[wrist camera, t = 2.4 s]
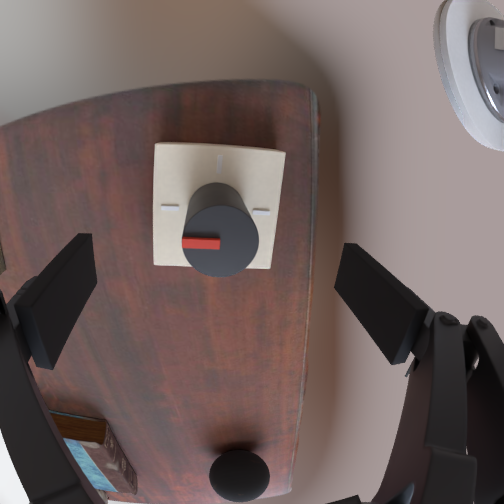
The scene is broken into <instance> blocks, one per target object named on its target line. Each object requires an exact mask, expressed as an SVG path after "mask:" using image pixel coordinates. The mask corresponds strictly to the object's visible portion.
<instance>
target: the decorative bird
mask: <svg viewBox="0 0 504 504" xmlns="http://www.w3.org/2000/svg"><path fill="white" fill-rule="evenodd" d="M96 491H97V492H98V494H99V495H100V496H101V498H102V499H103V500H104V502H105V503H106V504H108V499H109V497H108V498H107V494H106V493H105V491H104V490H100V489H96Z"/></svg>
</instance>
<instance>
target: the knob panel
mask: <svg viewBox="0 0 504 504" xmlns="http://www.w3.org/2000/svg"><path fill="white" fill-rule="evenodd" d="M285 154H286V153H285V152H283V151H280V150H277V149H268V148H259V147H248V146H237V145H223V144H207V143H186V142H159V143H156V144H155V156H154V181H153V255H154V265H170V266H191V265H190V264H189V262H188V261H187V259H186V257H185V255H184V253H183V249H182V234H183V229H184V224H185V219H186V214H187V209H188V204H189V201H190V198H191V197H192V195H193V194H194V192H195V191H196V190H197V189H199V188H200V187H202V186H203V185H206V184H209V183H214V182H219V183H224V184H227V185H229V186H231V187H233V188H234V189H235V190H236V191H237V192H238V193H239V194H240V196H241V198H242V200H243V202H244V204H245V205H246V207H247V209H248V211H249V213H250V215H251V217H252V219H253V221H254V223H255V225H256V227H257V230H258V234H259V246H258V250H257V253H256V255H255V257H254V259H253V260H252V262H251V263H250V264H249V265H248V266H247V267H246V268H262V269H270V266H271V259H272V252H273V245H274V238H275V231H276V223H277V216H278V209H279V201H280V194H281V186H282V178H283V170H284V162H285Z"/></svg>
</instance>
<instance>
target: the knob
mask: <svg viewBox="0 0 504 504" xmlns="http://www.w3.org/2000/svg"><path fill="white" fill-rule="evenodd" d="M258 246H259V234H258V230H257V227H256V225H255V223H254V221H253V219H252V217H251V215H250V213H249V211H248V209H247V207H246V205H245V204H244V202H243V200H242V198H241V196H240V194H239V193H238V192H237V191H236V190H235V189H234V188H233V187H231V186H229V185H227V184H224V183H219V182H214V183H209V184H206V185H203V186H202V187H200V188H199V189H197V190H196V191H195V192H194V194H193V195H192V197H191V198H190V201H189V204H188V209H187V214H186V219H185V224H184V229H183V234H182V249H183V253H184V255H185V257H186V259H187V261H188V262H189V264H190V265H191V266H192V267H193V268H195V269H196V270H197V271H199V272H200V273H203V274H205V275H208V276H212V277H227V276H231V275H234V274H237V273H239V272H241V271H242V270H244V269H245V268H246V267H247V266H248V265H249V264H250V263H251V262H252V260H253V259H254V257H255V255H256V253H257V250H258Z"/></svg>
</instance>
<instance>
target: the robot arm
mask: <svg viewBox="0 0 504 504" xmlns="http://www.w3.org/2000/svg"><path fill="white" fill-rule="evenodd" d="M468 54H469V61H470V65H471V70H472V74H473V77H474V80H475V83H476V86H477V88H478V91H479V93H480V95H481V97H482V99H483V101H484V103H485V105H486V107H487V108H488V110H489V111H490V112H491V114H492V115H493V116H494V117H495V118H496V119H497V120H498V121H500V122H501V123H504V20H501V19H497V18H492V17H488V18H482V19H477V20H475V21H474V22H473V23H472V25H471V27H470V29H469V33H468ZM96 284H97V276H96V269H95V261H94V252H93V242H92V234H87V233H78V234H77V235H76V236H75V237H74V238H73V239H72V240H71V241H70V242H69V243H68V244H67V245H66V246H65V247H64V248H63V249H62V250H61V251H60V253H59V254H58V255H57V256H56V257H55V258H54V259H53V260H52V261H51V262H50V263H49V264H48V265H47V266H46V267H45V269H44V270H43V271H42V272H41V273H40V274H39V275H38V276H34V277H33V278H31V279H30V280H28V281H26V282H25V284H24V285H23V286H22V287H21V289H19V290H18V291H17V293H16V295H14V296H13V297H12V298H11V300H10V301H9V302H8V303H7V304H6V303H5V300H4V297H3V293H2V291H1V290H0V429H1V433H2V436H3V439H4V442H5V444H6V447H7V450H8V452H9V455H10V458H11V460H12V463H13V465H14V467H15V470H16V472H17V474H18V477H19V479H20V481H21V483H22V485H23V488H24V490H25V492H26V494H27V496H28V498H29V501H30V503H29V504H106V503H105V502H104V500H103V499H102V498H101V496H100V495H99V494H98V492H97V491H96V489H95V488H94V487H93V485H92V484H91V482H90V481H89V480H88V478H87V477H86V475H85V474H84V472H83V471H82V469H81V467H80V466H79V464H78V463H77V461H76V460H75V458H74V456H73V455H72V453H71V451H70V450H69V448H68V446H67V444H66V443H65V441H64V439H63V437H62V436H61V434H60V432H59V430H58V428H57V426H56V424H55V422H54V420H53V418H52V416H51V414H50V412H49V410H48V408H47V406H46V404H45V402H44V400H43V397H42V395H41V393H40V390H39V388H38V386H37V383H36V381H35V379H34V376H33V373H32V371H31V368H30V366H29V364H28V361H29V359H30V357H31V355H32V357H33V360H34V362H35V364H36V367H40V368H45V369H50V370H53V369H54V367H55V364H56V362H57V360H58V358H59V356H60V353H61V351H62V349H63V347H64V345H65V343H66V341H67V339H68V337H69V335H70V333H71V331H72V329H73V327H74V325H75V323H76V321H77V319H78V317H79V315H80V313H81V311H82V310H83V308H84V306H85V304H86V302H87V300H88V298H89V297H90V295H91V293H92V291H93V290H94V288H95V286H96ZM334 288H335V290H336V291H337V292H338V293H339V295H340V296H341V297H342V299H343V300H344V301H345V303H346V304H347V305H348V307H349V308H350V309H351V310H352V312H353V313H354V315H355V316H356V317H357V319H358V320H359V321H360V323H361V324H362V325H363V327H364V328H365V329H366V331H367V332H368V333H369V335H370V336H371V338H372V339H373V340H374V342H375V343H376V344H377V346H378V347H379V348H380V350H381V351H382V353H383V354H384V355H385V357H386V358H387V360H388V361H389V362H390V364H391V365H395V364H400V363H405V361H406V359H407V357H408V355H409V353H410V351H411V352H412V353H413V354H414V356H415V357H414V360H413V361H412V363H411V365H410V367H409V369H408V371H407V373H406V375H405V377H407V376H408V374H410V375H409V381H408V386H407V392H406V397H405V402H404V406H403V411H402V415H401V419H400V423H399V428H398V431H397V435H396V439H395V443H394V446H393V449H392V453H391V456H390V460H389V463H388V466H387V469H386V472H385V475H384V478H383V481H382V483H381V486H380V488H379V491H378V492H377V494H376V495H375V497H374V498H373V499H372V501H371V502H361V501H360V499H359V496H358V495H355V496H352V497H349V498H345V499H342V500H339V501H335V502H331V503H327V504H473V502H474V504H504V344H503V342H502V340H501V339H500V337H499V335H498V333H497V332H496V330H495V328H494V327H493V325H492V324H491V323H490V322H489V321H488V320H487V319H486V318H484V317H482V316H472V318H471V320H470V322H469V324H468V325H462V324H460V322H459V320H458V319H457V318H456V317H454V316H453V315H451V314H449V313H446V312H436V313H435V312H434V311H433V310H432V309H431V308H430V307H429V306H428V305H427V304H426V303H425V302H424V301H423V300H421V299H420V298H419V297H418V296H417V295H416V294H415V293H414V292H413V291H412V290H411V289H409V288H408V287H406V286H405V285H404V284H403V283H401V282H400V281H399V280H398V279H397V278H396V277H395V276H393V275H392V274H391V273H390V272H389V271H388V270H387V269H386V268H384V267H383V266H382V265H381V264H380V263H379V262H377V261H376V260H375V259H374V258H373V257H372V256H371V255H369V254H368V253H367V252H366V251H365V250H363V249H362V248H361V247H360V246H359V245H358V244H354V243H344V248H343V252H342V256H341V261H340V266H339V269H338V274H337V278H336V282H335V286H334ZM478 357H479V362H478V365H477V367H476V369H475V367H474V364H475V363H476V361H477V359H478ZM466 446H467V452H468V455H467V454H466Z"/></svg>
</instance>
